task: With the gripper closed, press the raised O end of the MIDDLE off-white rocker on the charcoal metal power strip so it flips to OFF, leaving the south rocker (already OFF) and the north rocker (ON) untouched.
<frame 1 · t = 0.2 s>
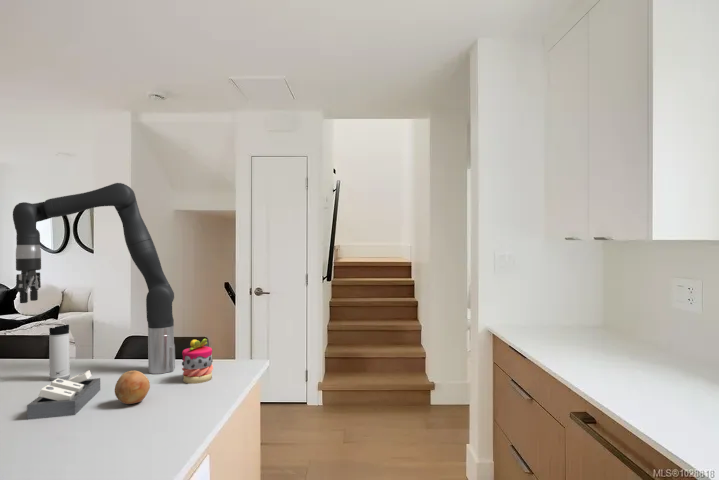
hand: (29, 301, 168), 29 cm above the counter, fingers open, 8 cm apart
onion: (132, 403, 141), on the counter
rocker middle: (67, 386, 142), point 5 cm above the counter, hinge at -20.0°
power strip: (67, 403, 142), on the counter
cake: (197, 380, 166), on the counter
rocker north: (57, 393, 135), point 5 cm above the counter, hinge at -20.0°
travel mug: (60, 379, 170), on the counter
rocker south: (75, 379, 150), point 5 cm above the counter, hinge at 20.0°
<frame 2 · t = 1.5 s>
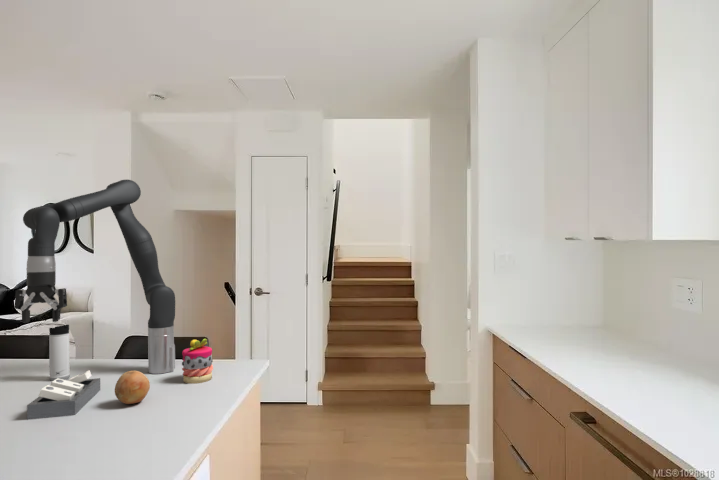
hand: (41, 322, 145), 25 cm above the counter, fingers open, 8 cm apart
nothing on the counter moved.
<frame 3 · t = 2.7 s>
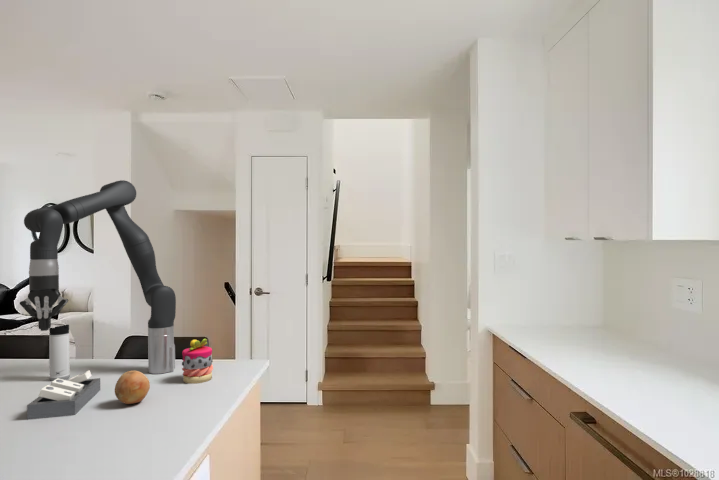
hand: (44, 330, 141), 23 cm above the counter, fingers closed
nothing on the counter moved.
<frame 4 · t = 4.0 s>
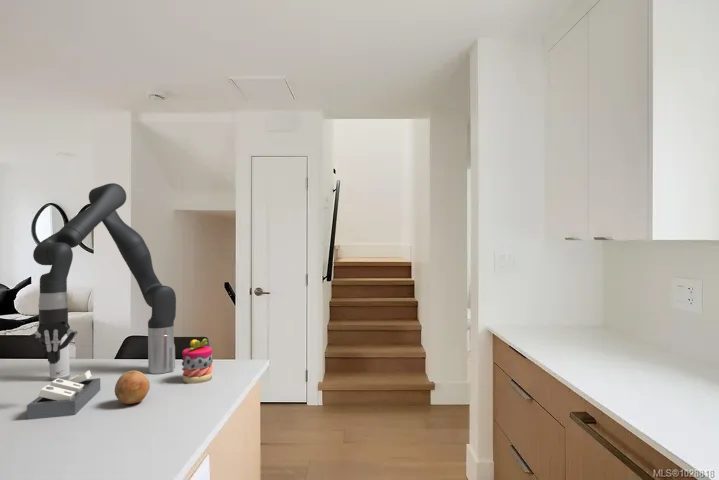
hand: (53, 363, 142), 13 cm above the counter, fingers closed
nothing on the counter moved.
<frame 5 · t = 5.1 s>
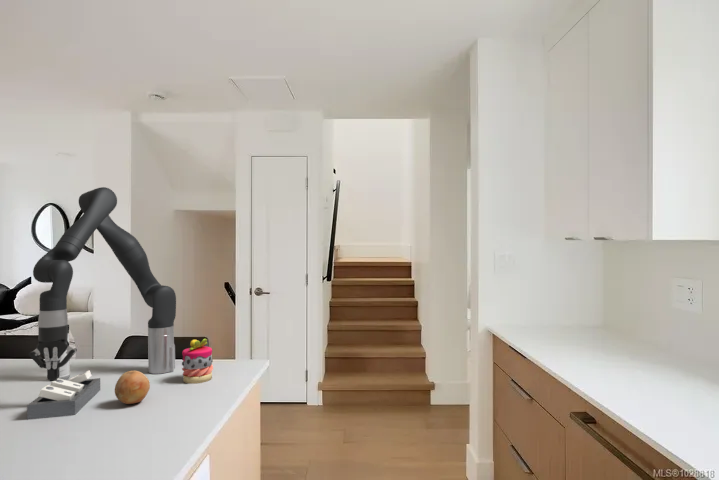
hand: (53, 380, 142), 7 cm above the counter, fingers closed
rocker middle: (67, 386, 142), point 5 cm above the counter, hinge at -19.9°, touching gripper
everything else where it was.
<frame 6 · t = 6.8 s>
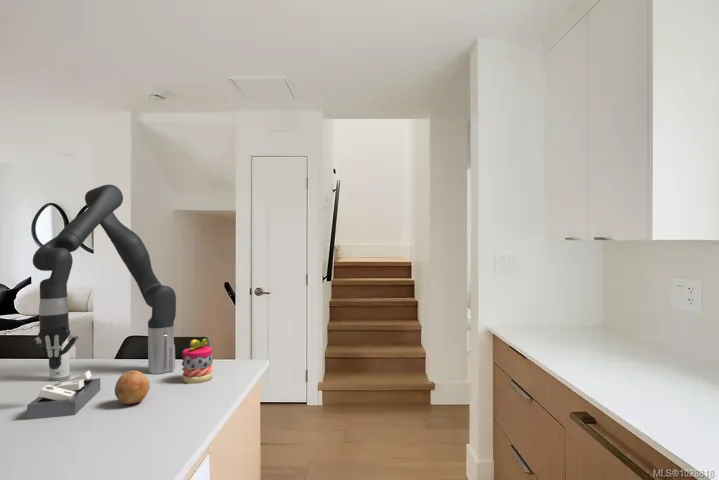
hand: (55, 368, 142), 11 cm above the counter, fingers closed
rocker middle: (67, 386, 142), point 5 cm above the counter, hinge at 4.4°
everything else where it was.
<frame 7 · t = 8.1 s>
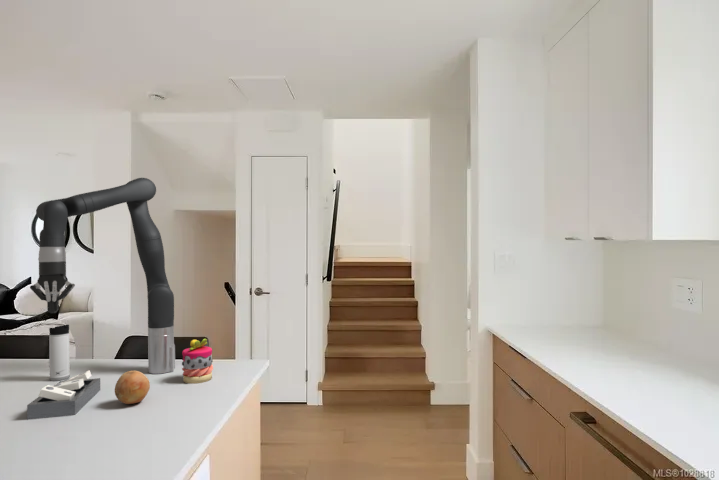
hand: (53, 312, 152), 27 cm above the counter, fingers closed
rocker middle: (67, 386, 142), point 5 cm above the counter, hinge at 8.8°
everything else where it was.
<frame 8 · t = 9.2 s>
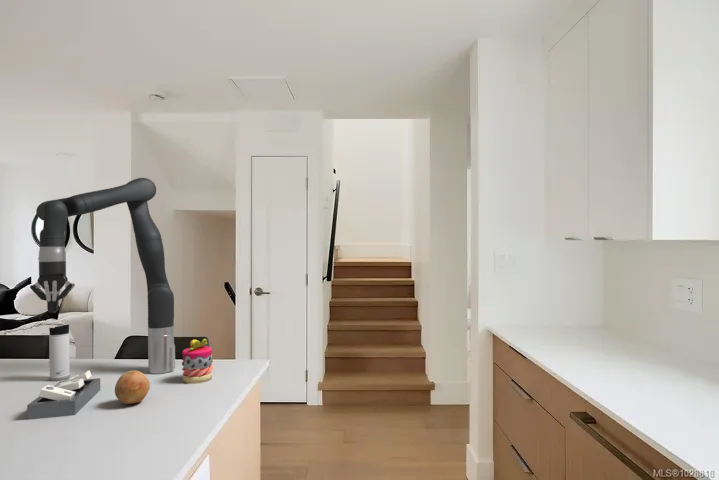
hand: (52, 312, 152), 27 cm above the counter, fingers closed
rocker middle: (67, 386, 142), point 5 cm above the counter, hinge at 10.2°
everything else where it was.
at the end: rocker middle at +10° (first picture: -20°); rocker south at +20° (first picture: +20°); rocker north at -20° (first picture: -20°) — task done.
